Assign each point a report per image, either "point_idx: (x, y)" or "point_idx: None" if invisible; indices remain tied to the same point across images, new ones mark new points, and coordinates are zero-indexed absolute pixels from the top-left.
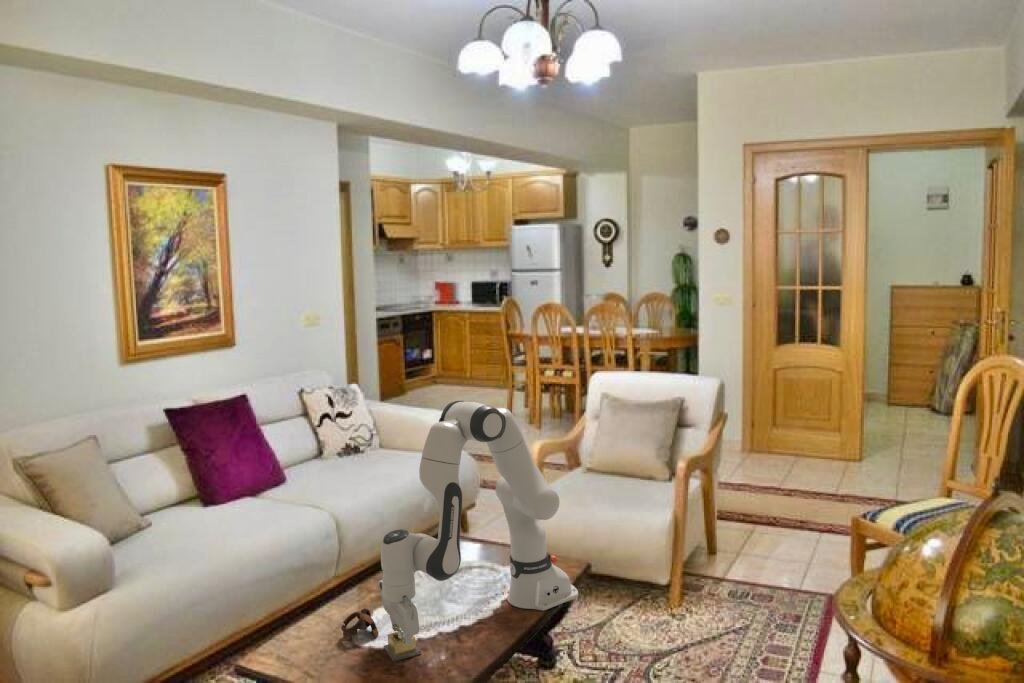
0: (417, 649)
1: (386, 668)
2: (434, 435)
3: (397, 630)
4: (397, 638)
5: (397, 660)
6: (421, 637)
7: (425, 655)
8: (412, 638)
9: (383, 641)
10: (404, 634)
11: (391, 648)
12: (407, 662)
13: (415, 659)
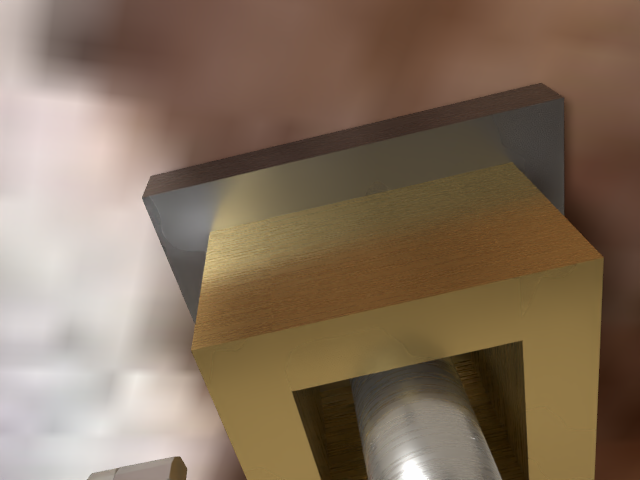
0: (509, 142)
1: (624, 425)
2: None
3: (184, 477)
4: (317, 429)
5: None
6: (34, 4)
7: (606, 26)
8: (590, 305)
9: (84, 440)
10: (477, 441)
11: None
12: (636, 256)
13: (627, 168)
